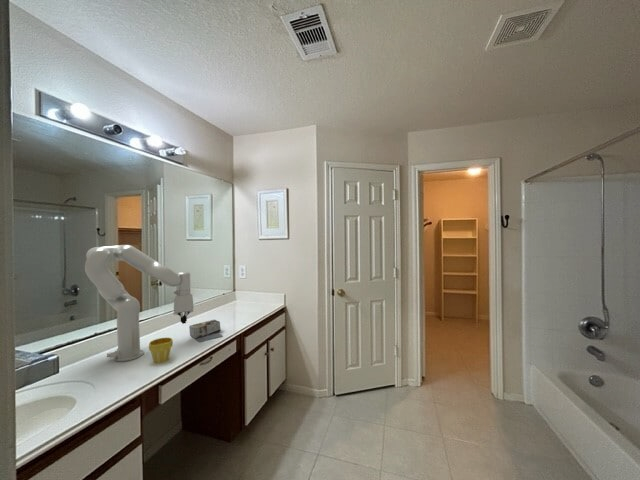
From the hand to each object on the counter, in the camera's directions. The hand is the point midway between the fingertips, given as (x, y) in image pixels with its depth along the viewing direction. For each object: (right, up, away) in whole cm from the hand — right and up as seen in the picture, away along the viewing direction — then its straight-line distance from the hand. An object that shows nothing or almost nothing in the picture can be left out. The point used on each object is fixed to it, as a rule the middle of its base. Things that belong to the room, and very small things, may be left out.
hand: (183, 322), depth 162 cm
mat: (+10, -10, +8) cm, 17 cm away
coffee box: (+3, -7, +4) cm, 8 cm away
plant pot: (+2, -11, -26) cm, 28 cm away
